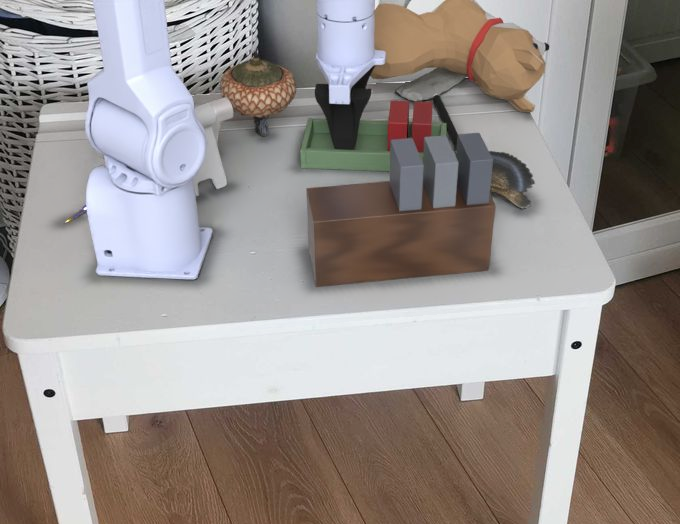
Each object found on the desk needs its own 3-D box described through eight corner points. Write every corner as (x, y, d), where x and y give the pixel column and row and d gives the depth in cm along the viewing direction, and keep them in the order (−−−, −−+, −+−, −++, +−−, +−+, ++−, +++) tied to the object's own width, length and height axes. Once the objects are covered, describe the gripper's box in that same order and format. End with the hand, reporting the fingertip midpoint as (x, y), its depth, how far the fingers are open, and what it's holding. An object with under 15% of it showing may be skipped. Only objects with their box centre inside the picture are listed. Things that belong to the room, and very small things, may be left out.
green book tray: (300, 168, 106) (300, 150, 104) (308, 135, 111) (308, 117, 110) (444, 173, 104) (445, 155, 103) (445, 139, 110) (446, 122, 108)
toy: (466, 11, 126) (577, 96, 117) (313, 88, 118) (419, 186, 109) (473, -61, 118) (593, 24, 109) (309, 17, 110) (424, 116, 101)
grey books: (399, 211, 86) (400, 167, 83) (389, 183, 90) (390, 139, 87) (489, 203, 87) (493, 159, 84) (475, 175, 90) (479, 132, 88)
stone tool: (389, 100, 117) (424, 106, 114) (388, 88, 116) (424, 94, 114) (451, 61, 126) (486, 66, 123) (451, 50, 125) (486, 55, 123)
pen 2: (468, 178, 103) (468, 169, 102) (429, 95, 117) (429, 86, 117) (476, 177, 103) (477, 168, 102) (436, 94, 118) (437, 86, 117)
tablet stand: (208, 149, 108) (200, 77, 103) (244, 180, 103) (238, 106, 98) (136, 173, 105) (124, 100, 99) (170, 206, 100) (159, 131, 94)
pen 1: (66, 227, 98) (63, 222, 98) (63, 226, 98) (60, 220, 98) (176, 152, 103) (173, 146, 102) (173, 151, 103) (170, 145, 103)
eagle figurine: (443, 222, 95) (538, 207, 94) (433, 147, 94) (528, 131, 93) (445, 220, 103) (533, 207, 101) (435, 151, 102) (524, 137, 101)
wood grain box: (316, 287, 90) (313, 221, 85) (308, 251, 94) (306, 187, 89) (489, 270, 91) (495, 205, 87) (474, 236, 95) (479, 172, 91)
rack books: (387, 161, 105) (387, 122, 102) (389, 137, 109) (390, 100, 106) (429, 162, 105) (431, 124, 102) (430, 139, 109) (432, 101, 106)
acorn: (218, 123, 113) (209, 38, 107) (289, 113, 115) (284, 29, 108) (231, 158, 107) (223, 71, 101) (306, 147, 109) (302, 60, 102)
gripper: (381, 43, 92) (379, 171, 101) (390, -16, 103) (387, 105, 112) (305, 40, 92) (310, 168, 101) (322, -18, 103) (325, 103, 112)
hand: (346, 135), depth 106 cm, fingers closed on red book, 5 cm apart
